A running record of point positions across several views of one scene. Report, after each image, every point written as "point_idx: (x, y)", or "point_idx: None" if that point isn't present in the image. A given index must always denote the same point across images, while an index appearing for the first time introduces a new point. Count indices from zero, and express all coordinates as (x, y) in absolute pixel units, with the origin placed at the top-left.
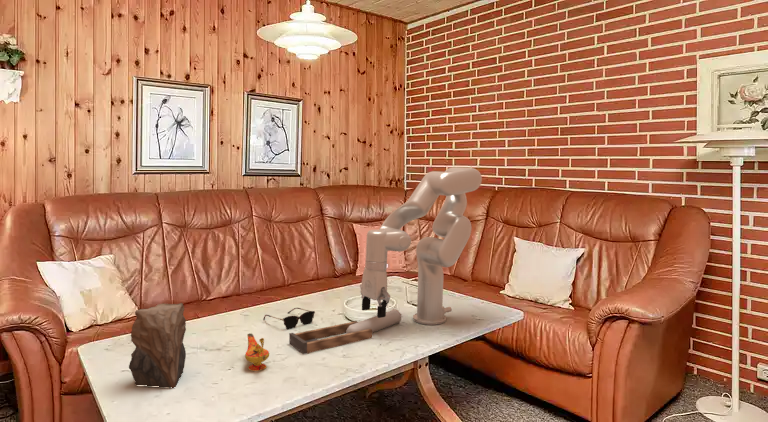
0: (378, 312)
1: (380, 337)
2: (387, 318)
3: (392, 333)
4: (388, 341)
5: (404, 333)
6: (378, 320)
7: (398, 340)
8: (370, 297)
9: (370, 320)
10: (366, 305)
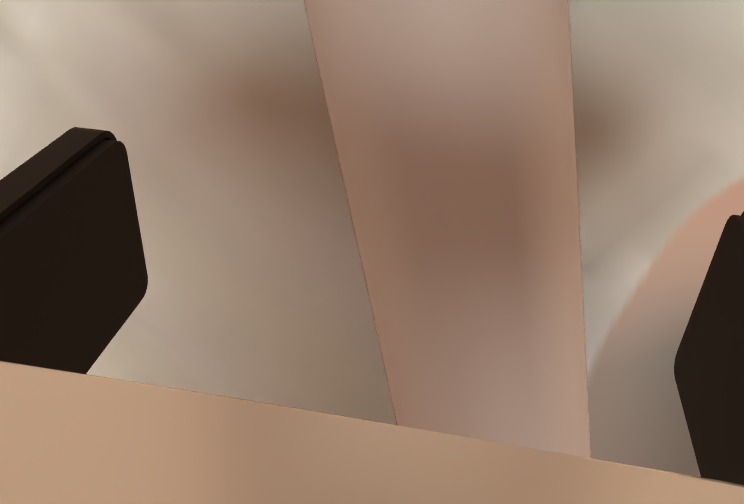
0: (10, 180)
1: (189, 37)
2: (404, 408)
3: (238, 247)
4: (18, 26)
5: (174, 335)
6: (385, 253)
7: (8, 147)
8: (19, 389)
9: (397, 106)
10: (728, 358)
